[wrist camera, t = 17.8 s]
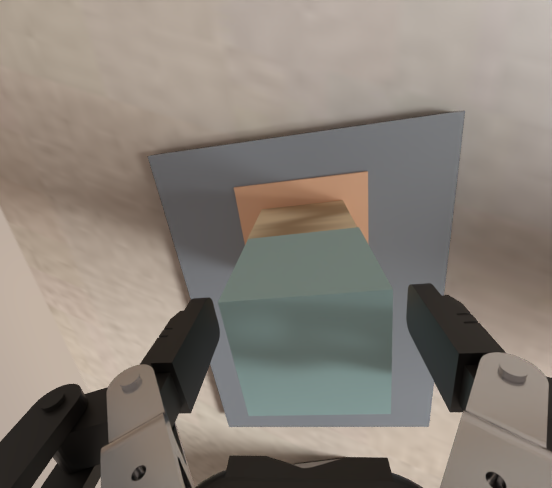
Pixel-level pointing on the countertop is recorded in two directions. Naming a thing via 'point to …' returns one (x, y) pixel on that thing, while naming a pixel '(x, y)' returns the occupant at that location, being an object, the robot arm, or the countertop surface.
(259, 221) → the maple block
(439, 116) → the build board
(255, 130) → the countertop surface
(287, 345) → the teal block
